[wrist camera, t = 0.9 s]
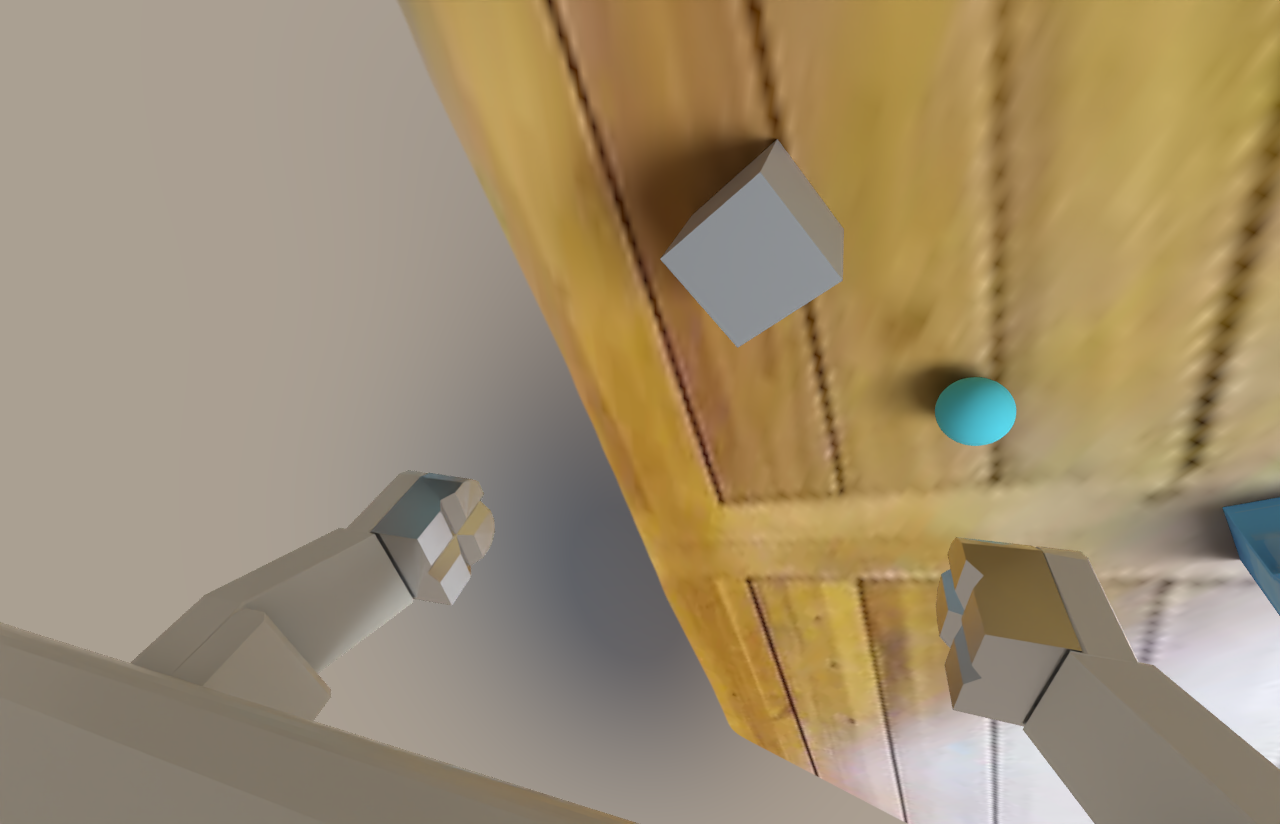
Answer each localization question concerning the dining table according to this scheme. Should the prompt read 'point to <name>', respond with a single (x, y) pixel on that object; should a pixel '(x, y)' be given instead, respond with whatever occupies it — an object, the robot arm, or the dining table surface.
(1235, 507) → the perfume bottle
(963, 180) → the dining table surface
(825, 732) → the dining table surface
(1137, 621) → the dining table surface
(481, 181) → the dining table surface
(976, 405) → the ball
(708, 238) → the gray cuboid
